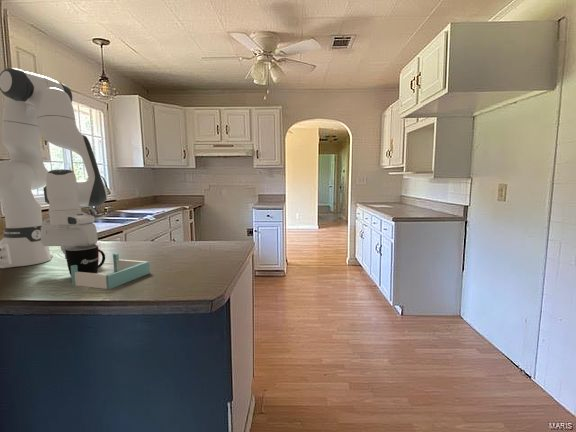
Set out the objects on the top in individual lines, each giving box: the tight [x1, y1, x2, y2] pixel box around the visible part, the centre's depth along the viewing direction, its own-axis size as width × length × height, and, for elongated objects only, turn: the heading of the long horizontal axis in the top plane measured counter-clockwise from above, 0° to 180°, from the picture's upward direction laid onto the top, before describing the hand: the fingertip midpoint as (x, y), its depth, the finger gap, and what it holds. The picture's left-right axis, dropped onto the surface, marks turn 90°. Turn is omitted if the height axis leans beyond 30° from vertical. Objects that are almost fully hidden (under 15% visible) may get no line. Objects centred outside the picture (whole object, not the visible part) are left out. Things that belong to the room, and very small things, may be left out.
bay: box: [70, 253, 151, 290], centre depth 104 cm, size 14×17×6 cm
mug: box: [65, 245, 106, 276], centre depth 107 cm, size 12×9×10 cm
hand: (71, 259), depth 110 cm, fingers closed
